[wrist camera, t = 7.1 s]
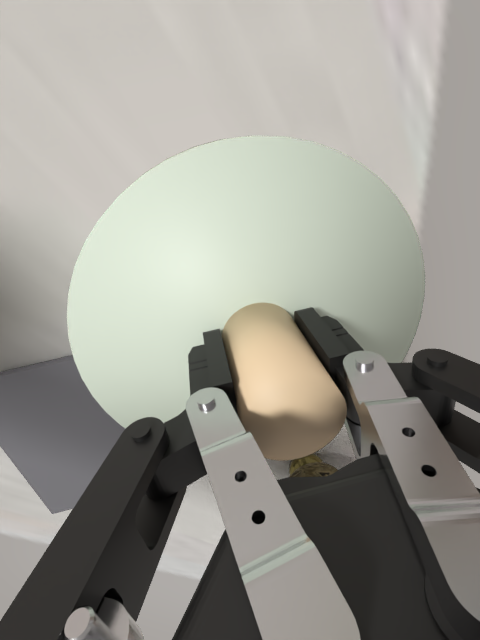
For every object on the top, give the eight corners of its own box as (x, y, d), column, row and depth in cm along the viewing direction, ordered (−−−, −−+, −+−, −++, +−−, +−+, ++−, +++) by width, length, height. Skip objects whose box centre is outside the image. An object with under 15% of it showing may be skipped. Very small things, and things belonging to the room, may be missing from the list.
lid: (0, 183, 11) (-162, 224, 6) (423, 99, 12) (620, 66, 7) (141, 470, 19) (127, 606, 13) (398, 403, 20) (483, 504, 14)
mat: (-41, 381, 25) (-46, 386, 24) (173, 331, 26) (173, 335, 25) (54, 508, 33) (52, 514, 32) (215, 465, 34) (216, 470, 33)
